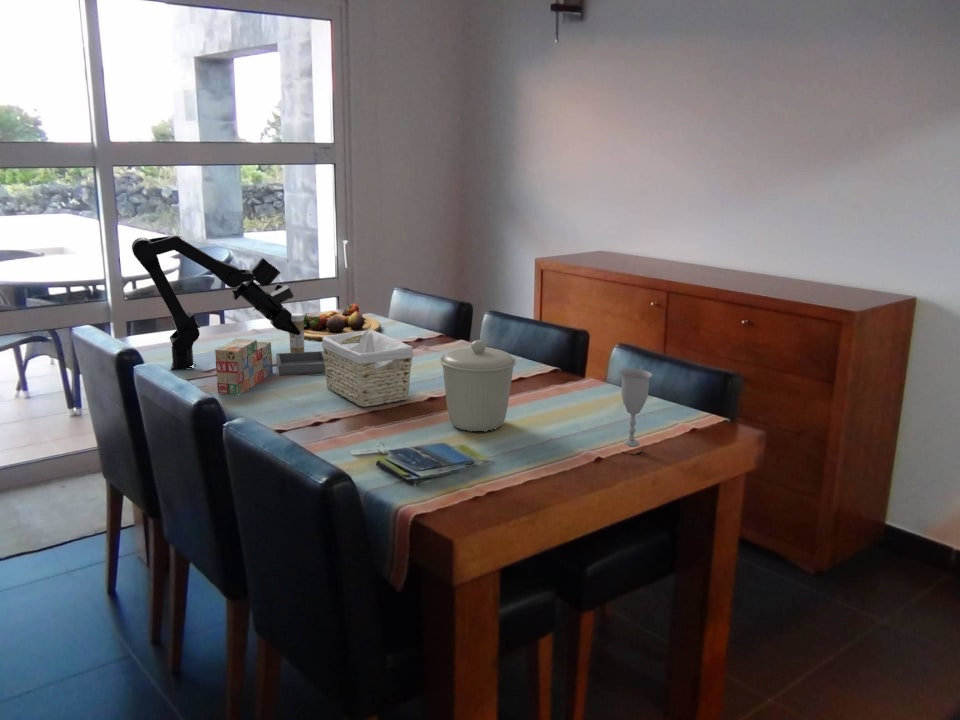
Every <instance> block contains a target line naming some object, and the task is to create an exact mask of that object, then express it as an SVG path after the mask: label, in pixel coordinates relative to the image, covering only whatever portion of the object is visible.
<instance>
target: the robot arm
mask: <svg viewBox="0 0 960 720" xmlns="http://www.w3.org/2000/svg"><path fill="white" fill-rule="evenodd" d="M131 250H132V253H133V256H134V257H135V258H136V260H138V262H139V264H140V265H141V266H142V267H143V268H144V269H145V270H146V272H147V273H148V274H149V276H150V278H151V280H152V282H153V283H154V285H155V287H156V288H157V289H156V290H158V292H159V294H160V296H161V298H162V300H163V301H164V304H165V305H166V308H167V309H168V311H169V313H170V314H171V317H172V321H173V325H174V326H175V331H174V332H173V333H172V334H171V335H170V336H169V340H170V342H171V358H172V362H171V367H170V370H171V371H174V370H176V371H177V370H188V369H187V368H192V367H190V366H192V365H193V364H194V363H193V362H194V351H193V345H194V343H195V342H196V341H197V340H198V339H199V338H200V337H199V336H200V334H201V333H200V330H199V329H200V328H201V325H200V324H199V322H198V321H196V318H195V315H194V314H193V312H192V311H189V312H188V313H187V312H186V310H185V309H184V308H183V307H182V304H181V303H180V301H179V298H178V297H177V295H176V293H175V291H174V289H173V288H172V286H171V284H170V281H169V280H168V278H167V276H166V275H165V273H164V271H163V269H162V267H161V263H160V260H159V258H158V255H162V254H166V253H168V252H173V251H176V252H177V253H179V254H180V255H182V256H184V257H185V258H187V259H189V260H191V261H192V262H194V263H196V264H197V265H199V266H201V267H203V268H204V269H206V270H207V271H209V272H210V273H212V274H213V275H214V276H216V277H217V278H218V279H219V280H220V281H221V282H222V283H224V284H225V285H226V286H227V287H229V288H233V289H231V292H232V298H233V300H235V301H237V300H238V299H239V298H240V297H241V298H242V299H243V300H245V301H246V302H247V303H248V304H249V305H250V306H252V307H253V308H254V309H255V310H256V311H258V312H259V313H260V314H261V315H262V316H264V317H265V318H266V319H267V320H268V321H269V322H270V324H271V325H272V326H273V327H274V328H275V329H276V330H278V331H283V332H285V333H288V334H289V333H292V334H296V335H300V333H301V332H300V331H299V330H298V328H297V327H296V326H295V325H294V323H293V322H292V320H291V317H292V314H291V313H292V312H290V311H289V310H288V309H287V308H286V307H284V306H283V305H282V303H284V302H286V301H288V300H289V299H293V298H294V297H295V296H294V294H293V292H292V289H291V288H290V287H289V286H288V285H285V284H284V285H281V284H280V283H277V284H275V285H274V290H273V291H272V292H271V293H269V292H268V291H265V290H264V289H263V288H262V287H269V286H270V285H271V284H272V283H273V281H275V279H276V278H277V277H278V276H279V275H280V274H281V273H282V272H281V271H280V270H279V269H277V268H276V267H275V266H274V265H273V264H272V263H270V262H269V261H267V260H266V259H265V258H264V257H261V258H260V260H259V261H258V262H257V264H256V265H254V266H253V268H252V269H251V270H250V269H240V268H238V267H237V266H236V265H233V264H230V263H229V262H228V263H227V262H225V261H222V260H219V259H217V258H214V257H213V256H211V255H209V254H208V253H206V252H205V251H202V250H201V249H199V248H197V247H196V246H194V245H193V244H191V243H189V242H188V241H186V240H185V239H182V238H181V237H180V236H179V235H177V234H170V235H167V236H161V237H159V236H158V237H153V238H147V237H138V238H136V239H135V240H133V242H132V244H131ZM254 281H256V282H257V283H258V284H259V285H260V286H262V287H260V286H259V285H258V284H257V283H256V282H254ZM235 288H236V289H235Z"/></svg>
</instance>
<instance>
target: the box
mask: <svg viewBox="0 0 960 720" xmlns="http://www.w3.org/2000/svg"><path fill="white" fill-rule="evenodd" d="M275 359H276V367H277V372H278V376H279V377H287V376H304V375H317V374H318V375H321V374H326V373H325V369H326V368H325V365H324V361H325V360H324V350H314V351H304V352H295V353H290V352H279V353H278V352H277V353H275Z"/></svg>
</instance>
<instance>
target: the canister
mask: <svg viewBox="0 0 960 720" xmlns="http://www.w3.org/2000/svg"><path fill="white" fill-rule="evenodd" d="M439 362H440V364H441V365H442V370H443V371H442V373H443V381H444V391H445V400H446V408H447V414H448V415H447V416H448V418H449V421H450V423H451V424H452V425H453V427H455V428H456V429H459V430H462V431H465V430H467V432H472V431H484V432H487V431H486V430H491V431H493V430H492V429H494V430H496V429H495V428H497V429H498V427H499V428H500V427H501V426H502V425H503V423H504V422H505V420H506V417H507V414H508V413H507V412H508V406H509V400H510V394H511V386H512V382H513V381H512V379H513V373H514V366H516V364H517V359H516V357H514V356H513V355H511V354H510V353H509V352H507V351H505V350H501V349H498V348H493V347H487V345H486V343H485V341H484V340H480V339H476V340H473V341H472V342H471V344H470V347H469V346H467V347H462V348H461V347H460V348H455V349H453V350H451V351H448V352H447V353H445V354H444V355H442V356H441V357H440V359H439ZM500 425H501V426H500Z"/></svg>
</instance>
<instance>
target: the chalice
mask: <svg viewBox="0 0 960 720" xmlns="http://www.w3.org/2000/svg"><path fill="white" fill-rule="evenodd" d="M620 375H621V390H620V392H621V397H622V402H623V405H624V407H625V409H626V412H627V413H628V414H630V420H629V421H628V423H629V428H628V429H627V430H628V432H629V436H628V437H627V438H626V439H624V440H623V441H622V444H624V445H627V446H629V447H637V446H639V445H640V442H639V441H638V440H637V439H636V438H635V436H634V435H635V432H636V431H637V430H636V429H635V425H636V423H637V421H636V415H639V414H640V413H641V411H642V410H643V407H644V406H645V404H646V402H647V399H648V397H649V390H650V389H649V388H650V387H649V386H650V379H651V377H652V376H653V374H652V372H650V371H647V370H644V369H638V368H626V369H623V370H621V371H620Z"/></svg>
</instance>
